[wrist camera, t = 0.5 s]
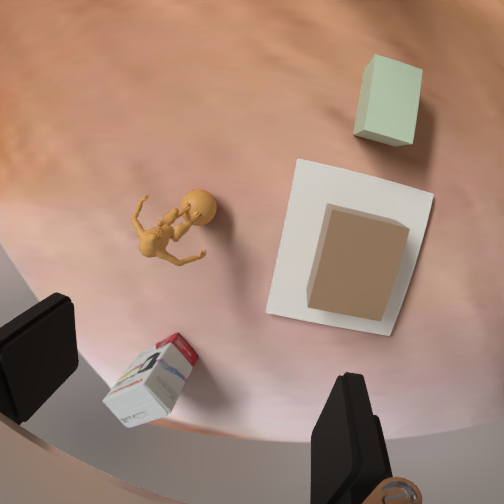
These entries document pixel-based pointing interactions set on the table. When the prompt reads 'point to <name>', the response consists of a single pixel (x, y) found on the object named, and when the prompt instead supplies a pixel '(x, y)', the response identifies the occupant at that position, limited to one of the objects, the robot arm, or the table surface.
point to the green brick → (388, 102)
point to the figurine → (193, 211)
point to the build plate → (308, 229)
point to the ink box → (152, 382)
